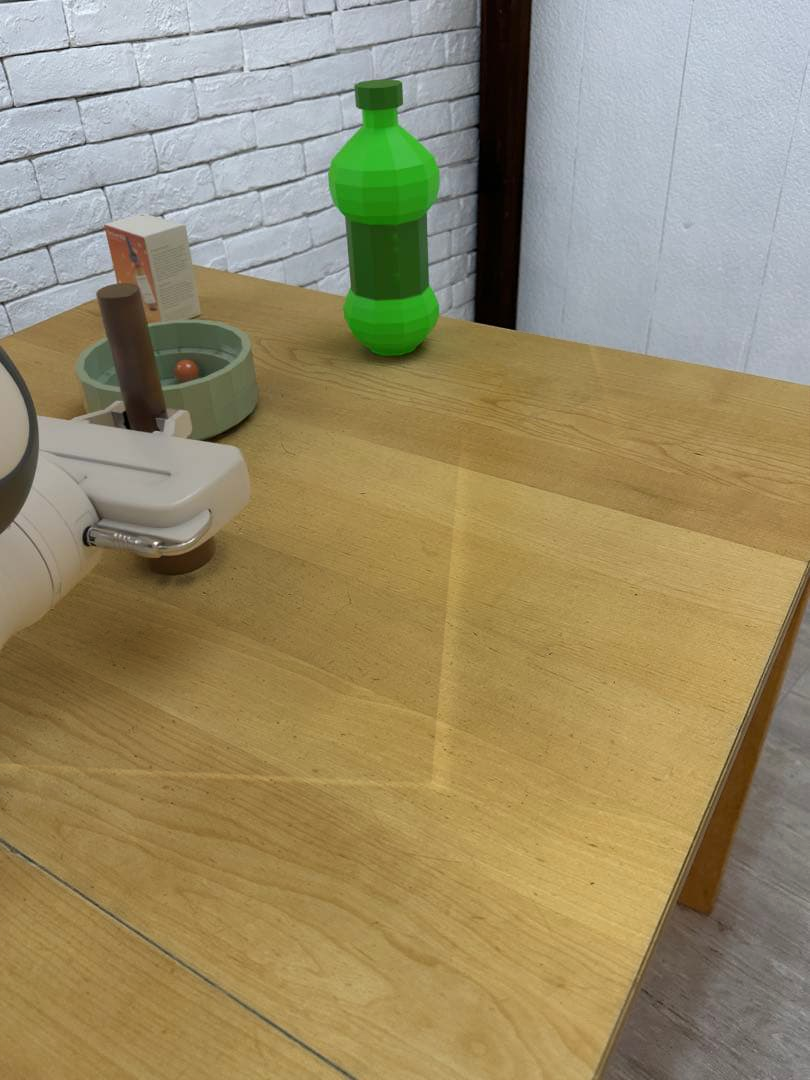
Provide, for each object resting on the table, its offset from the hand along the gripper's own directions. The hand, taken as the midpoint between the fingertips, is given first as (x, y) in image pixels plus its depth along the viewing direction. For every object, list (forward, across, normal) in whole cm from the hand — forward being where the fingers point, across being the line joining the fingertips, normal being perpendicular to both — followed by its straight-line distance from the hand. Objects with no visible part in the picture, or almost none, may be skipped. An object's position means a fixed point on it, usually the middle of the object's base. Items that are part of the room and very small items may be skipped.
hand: (155, 414), depth 61 cm
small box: (+39, +27, +11) cm, 49 cm away
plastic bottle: (+38, -2, +11) cm, 40 cm away
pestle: (-1, 0, +11) cm, 11 cm away
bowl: (+18, +12, +11) cm, 25 cm away
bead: (+23, +14, +9) cm, 28 cm away
